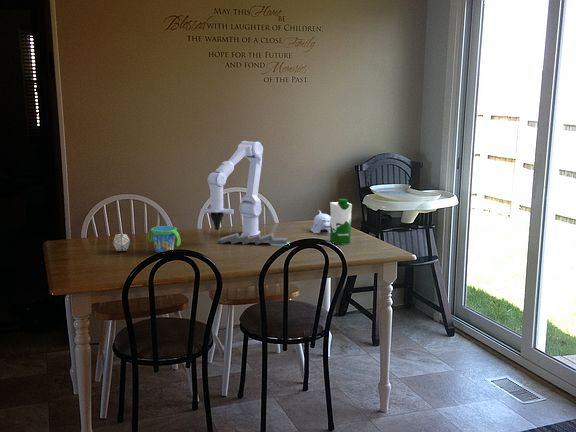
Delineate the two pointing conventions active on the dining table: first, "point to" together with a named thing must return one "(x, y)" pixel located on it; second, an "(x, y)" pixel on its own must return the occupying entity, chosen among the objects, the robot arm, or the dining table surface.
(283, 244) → the domino
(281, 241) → the domino
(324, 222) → the hippopotamus toy
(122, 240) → the game die
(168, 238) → the snack cup
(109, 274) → the dining table surface
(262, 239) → the domino
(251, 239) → the domino
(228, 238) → the domino
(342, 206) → the milk carton
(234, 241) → the domino
